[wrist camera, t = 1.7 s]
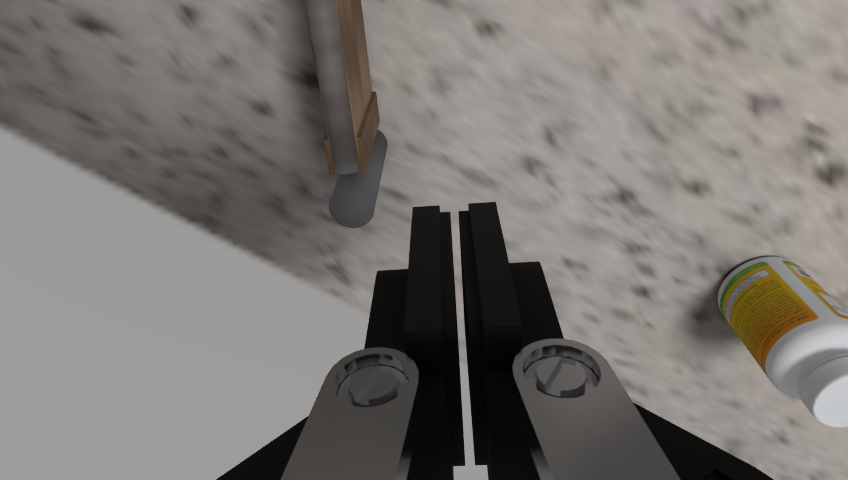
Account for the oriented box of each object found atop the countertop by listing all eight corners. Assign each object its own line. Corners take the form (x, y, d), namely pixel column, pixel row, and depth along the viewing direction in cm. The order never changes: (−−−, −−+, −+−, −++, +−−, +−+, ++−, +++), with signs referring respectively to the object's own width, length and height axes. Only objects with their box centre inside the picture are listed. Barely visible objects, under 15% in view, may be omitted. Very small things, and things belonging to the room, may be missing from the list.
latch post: (349, 128, 31) (325, 189, 24) (385, 126, 31) (371, 186, 24) (354, 161, 32) (333, 229, 25) (388, 159, 32) (376, 226, 25)
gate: (318, -94, 25) (277, -97, 19) (352, -97, 25) (324, -101, 19) (350, 123, 31) (327, 179, 24) (379, 120, 30) (364, 177, 24)
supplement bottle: (708, 323, 38) (786, 440, 29) (723, 256, 35) (814, 363, 27) (790, 319, 38) (892, 436, 29) (812, 251, 35) (932, 358, 26)
